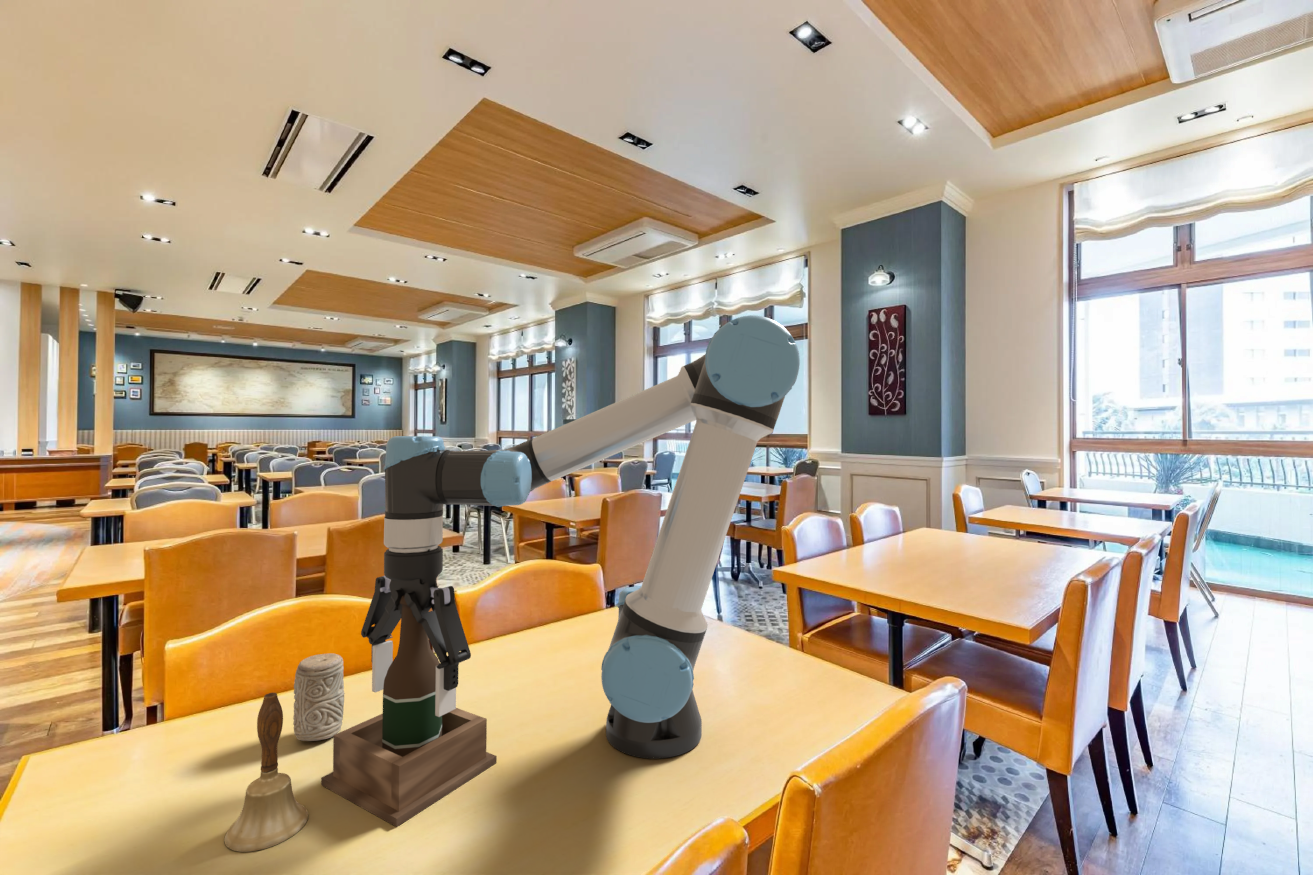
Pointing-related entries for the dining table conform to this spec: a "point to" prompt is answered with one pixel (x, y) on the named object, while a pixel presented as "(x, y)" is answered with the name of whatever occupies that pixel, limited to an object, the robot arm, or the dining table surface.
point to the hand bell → (267, 793)
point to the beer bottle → (410, 691)
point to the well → (407, 766)
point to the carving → (318, 697)
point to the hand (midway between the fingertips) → (412, 699)
